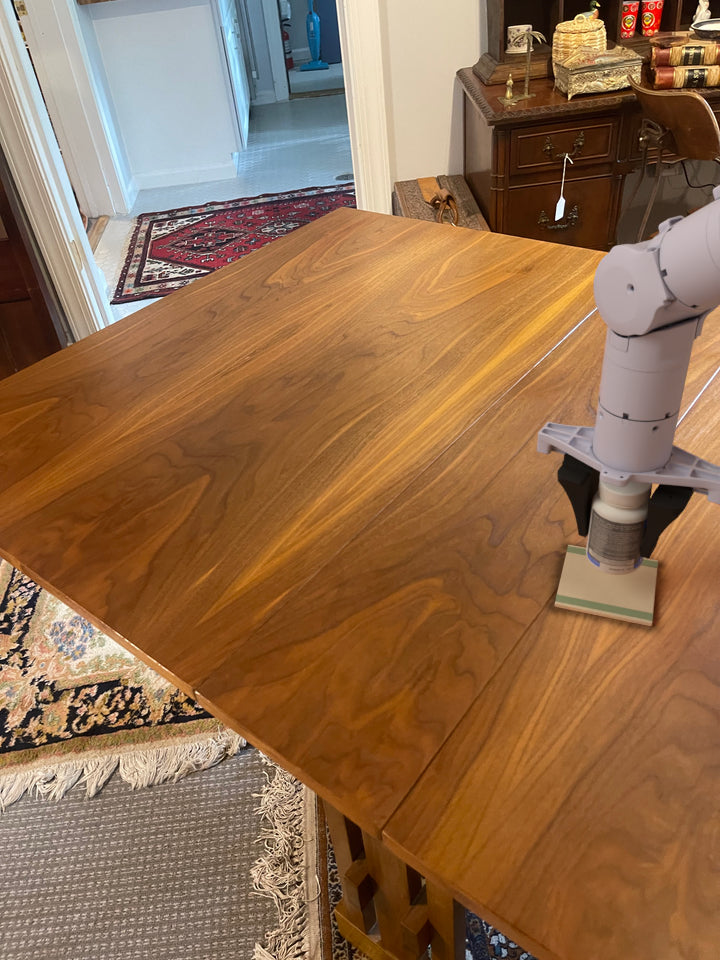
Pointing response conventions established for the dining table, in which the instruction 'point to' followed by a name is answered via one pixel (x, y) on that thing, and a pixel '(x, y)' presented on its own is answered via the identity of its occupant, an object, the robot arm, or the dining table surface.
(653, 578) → the striped square coaster
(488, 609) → the dining table surface
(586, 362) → the dining table surface
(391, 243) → the dining table surface
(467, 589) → the dining table surface
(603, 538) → the pill bottle
